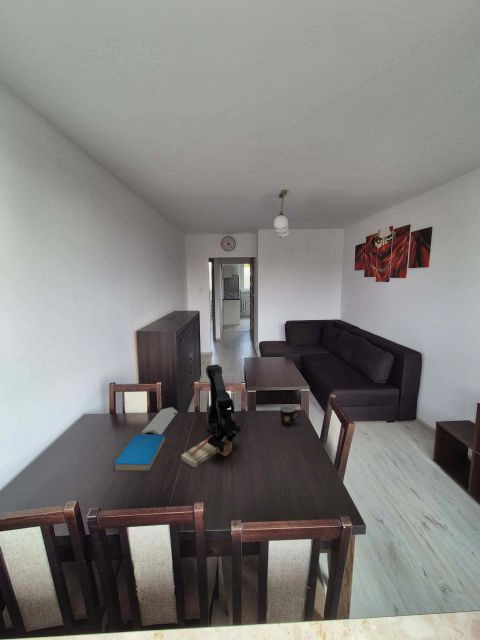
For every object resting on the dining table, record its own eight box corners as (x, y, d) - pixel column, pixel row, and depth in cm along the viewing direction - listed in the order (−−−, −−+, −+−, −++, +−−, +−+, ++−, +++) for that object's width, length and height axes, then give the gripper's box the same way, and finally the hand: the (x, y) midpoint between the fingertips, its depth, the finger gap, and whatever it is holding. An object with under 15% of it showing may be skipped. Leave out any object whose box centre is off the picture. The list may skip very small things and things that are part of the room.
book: (165, 434, 153) (150, 463, 129) (165, 441, 154) (150, 471, 129) (134, 434, 154) (113, 463, 129) (134, 441, 154) (113, 471, 129)
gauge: (224, 447, 145) (224, 437, 144) (232, 451, 141) (231, 440, 141) (218, 452, 141) (217, 441, 140) (225, 456, 138) (225, 445, 137)
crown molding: (160, 411, 189) (160, 406, 189) (177, 412, 188) (177, 407, 187) (140, 434, 160) (140, 429, 160) (161, 436, 159) (160, 430, 159)
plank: (212, 439, 154) (212, 435, 153) (225, 446, 148) (225, 441, 147) (181, 459, 137) (180, 455, 136) (194, 467, 131) (194, 463, 130)
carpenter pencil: (207, 440, 149) (207, 439, 148) (209, 441, 148) (209, 440, 148) (190, 454, 137) (190, 453, 137) (191, 455, 136) (191, 454, 136)
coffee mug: (277, 425, 169) (277, 409, 167) (283, 419, 176) (283, 404, 174) (295, 430, 162) (295, 414, 161) (300, 424, 169) (301, 409, 168)
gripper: (224, 409, 151) (225, 436, 153) (199, 423, 136) (200, 453, 139) (240, 415, 144) (241, 443, 146) (216, 431, 130) (216, 461, 132)
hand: (225, 450), depth 141 cm, fingers closed on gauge, 5 cm apart
